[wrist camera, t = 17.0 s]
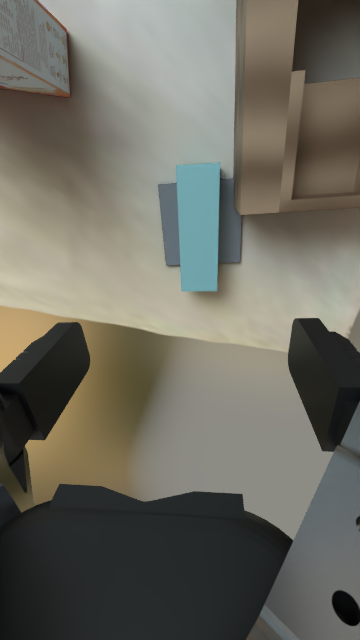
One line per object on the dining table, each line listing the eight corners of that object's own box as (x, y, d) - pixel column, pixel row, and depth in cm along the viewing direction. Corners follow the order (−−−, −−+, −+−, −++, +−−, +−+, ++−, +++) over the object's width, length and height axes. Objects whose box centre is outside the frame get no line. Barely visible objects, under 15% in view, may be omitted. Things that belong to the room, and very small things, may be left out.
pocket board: (237, -36, 24) (251, -140, 16) (434, -70, 22) (559, -206, 14) (233, 205, 33) (240, 214, 25) (372, 196, 31) (426, 203, 24)
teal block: (179, 166, 31) (176, 165, 28) (218, 164, 31) (219, 162, 27) (184, 280, 38) (181, 291, 34) (216, 280, 37) (217, 291, 34)
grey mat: (158, 184, 33) (158, 184, 32) (242, 177, 32) (242, 177, 31) (166, 264, 38) (166, 265, 37) (239, 261, 36) (239, 262, 36)
